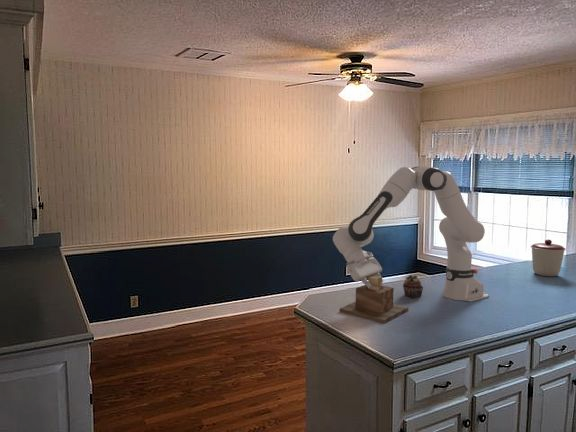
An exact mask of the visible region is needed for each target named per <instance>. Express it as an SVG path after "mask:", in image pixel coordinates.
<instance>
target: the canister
mask: <svg viewBox="0 0 576 432" xmlns="http://www.w3.org/2000/svg"><path fill="white" fill-rule="evenodd" d="M530 248H531V258H532V270H533V272H534V274H536V275H538V276H542V277H556V276H558V275H559V274H560V273H561V269H562V264H563V259H564V255H565V251H566V247H564V246H562V245H560V244H557V243H553V241H552V240H551V239H545V240H544V242H539V243H534V244H533V243H532V244H531V245H530Z"/></svg>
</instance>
